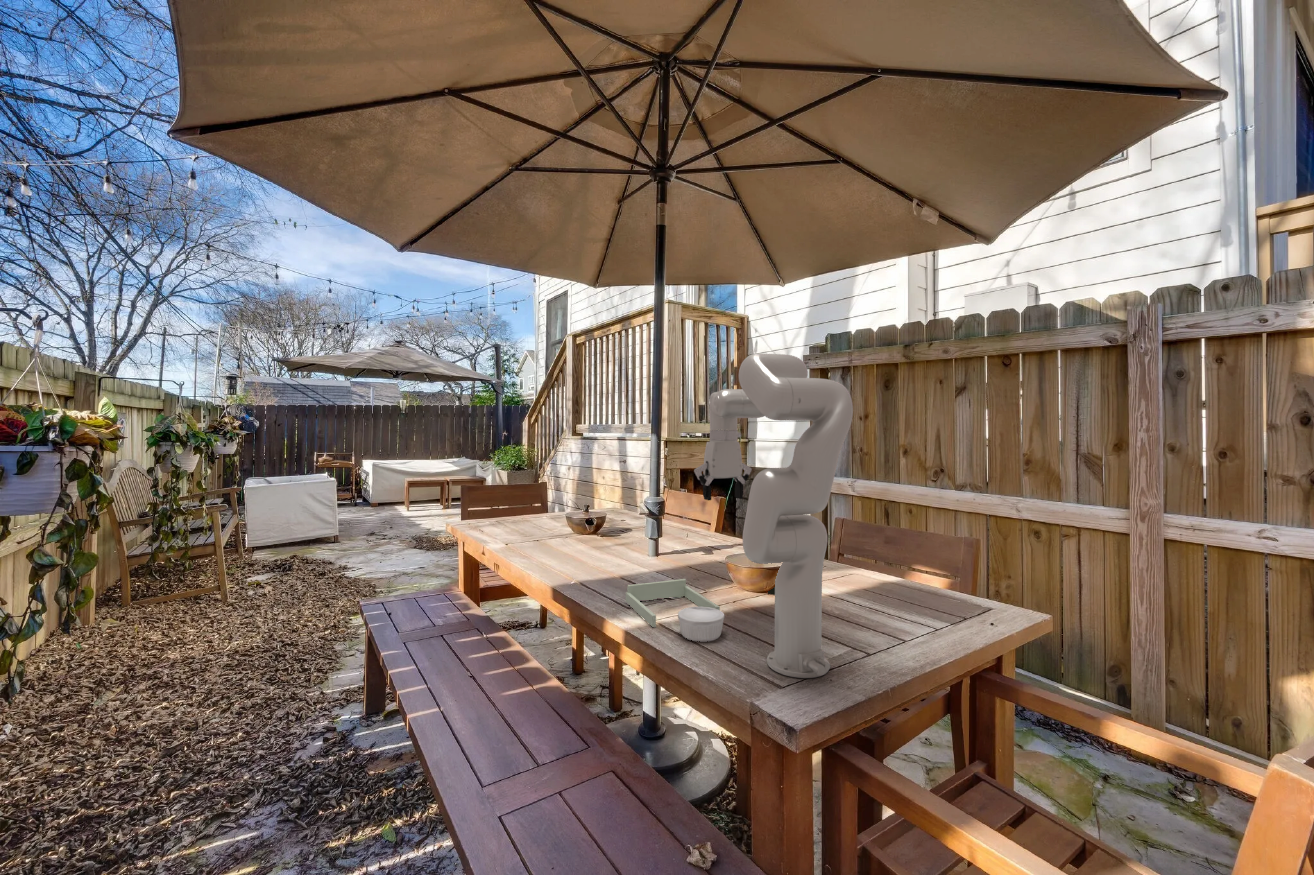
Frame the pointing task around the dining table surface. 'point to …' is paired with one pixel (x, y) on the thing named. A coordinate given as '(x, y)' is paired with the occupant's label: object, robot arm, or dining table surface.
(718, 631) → the ramekin
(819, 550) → the robot arm
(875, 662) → the dining table surface
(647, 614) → the green three-sided fence
